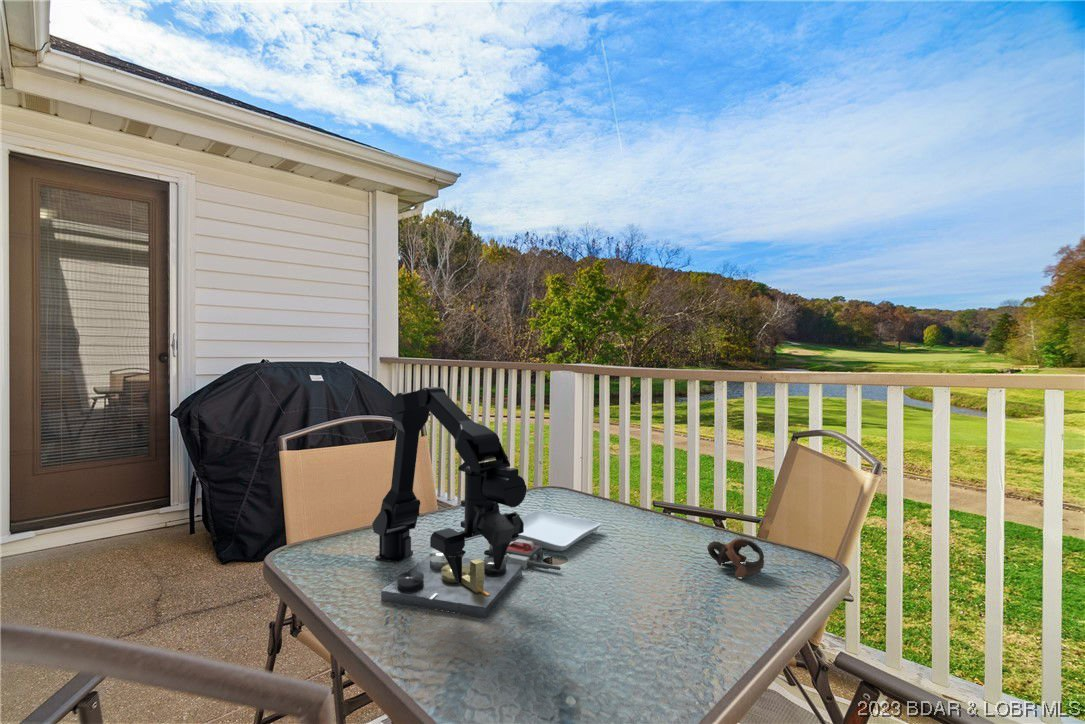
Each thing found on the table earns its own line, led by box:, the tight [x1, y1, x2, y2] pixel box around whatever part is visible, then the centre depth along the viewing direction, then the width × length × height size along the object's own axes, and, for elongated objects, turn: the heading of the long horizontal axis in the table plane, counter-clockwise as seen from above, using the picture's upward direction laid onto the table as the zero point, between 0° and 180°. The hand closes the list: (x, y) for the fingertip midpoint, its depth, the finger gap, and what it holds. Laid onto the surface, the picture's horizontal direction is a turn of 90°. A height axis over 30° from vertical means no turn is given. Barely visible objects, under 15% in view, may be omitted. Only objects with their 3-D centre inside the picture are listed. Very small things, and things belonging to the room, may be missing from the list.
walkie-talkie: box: [483, 539, 561, 571], centre depth 121 cm, size 9×4×20 cm
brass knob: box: [441, 558, 484, 593], centre depth 105 cm, size 12×6×6 cm, turn 40°
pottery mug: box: [706, 537, 765, 579], centre depth 116 cm, size 12×10×8 cm
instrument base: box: [380, 549, 523, 619], centre depth 107 cm, size 22×20×5 cm
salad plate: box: [513, 509, 602, 552], centre depth 138 cm, size 21×21×3 cm
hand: (478, 575), depth 101 cm, fingers open, 9 cm apart
